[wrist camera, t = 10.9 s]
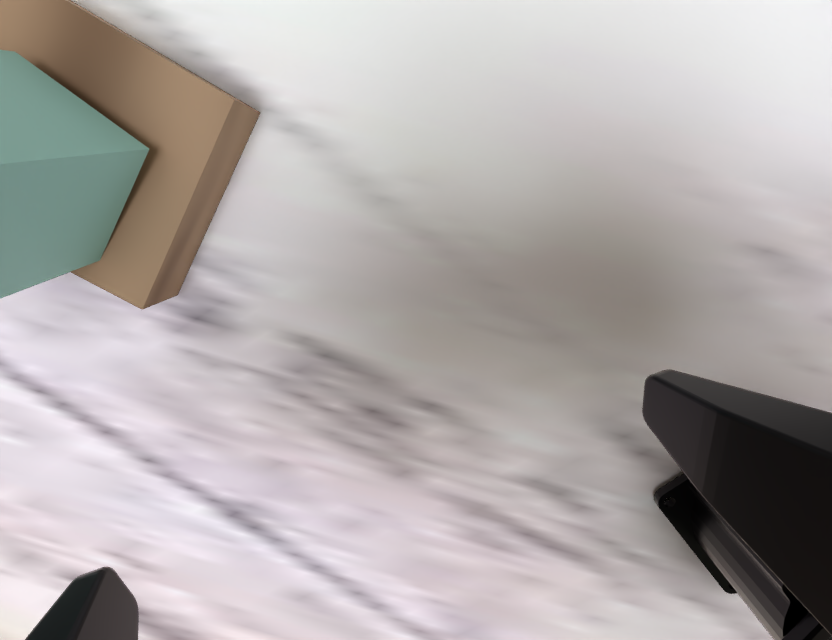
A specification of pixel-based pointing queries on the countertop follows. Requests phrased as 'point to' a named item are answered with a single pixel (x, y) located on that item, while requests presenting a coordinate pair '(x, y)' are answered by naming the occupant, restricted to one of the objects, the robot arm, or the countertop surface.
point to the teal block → (56, 177)
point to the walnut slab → (140, 139)
